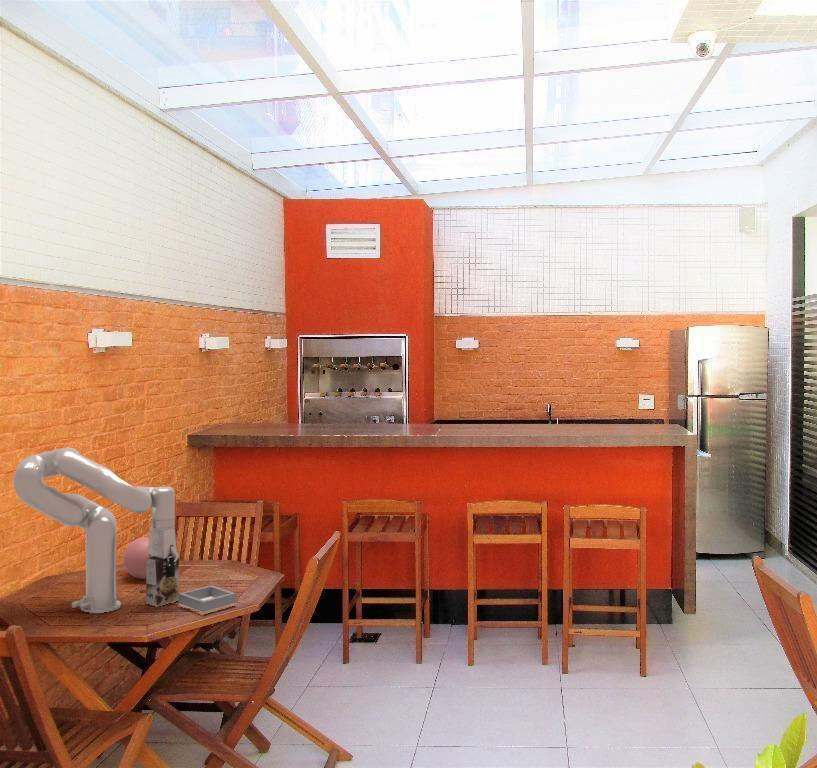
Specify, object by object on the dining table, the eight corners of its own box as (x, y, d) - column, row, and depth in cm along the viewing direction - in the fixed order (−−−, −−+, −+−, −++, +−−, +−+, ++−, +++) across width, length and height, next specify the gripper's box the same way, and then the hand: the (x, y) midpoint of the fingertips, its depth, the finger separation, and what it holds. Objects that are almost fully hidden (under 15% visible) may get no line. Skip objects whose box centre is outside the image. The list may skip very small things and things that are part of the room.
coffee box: (157, 608, 286) (157, 560, 286) (145, 604, 290) (145, 557, 289) (179, 601, 294) (179, 555, 293) (167, 598, 298) (168, 552, 297)
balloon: (153, 567, 335) (153, 528, 334) (172, 580, 319) (172, 539, 318) (113, 573, 326) (113, 533, 325) (131, 586, 310) (131, 544, 309)
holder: (203, 615, 280) (203, 602, 280) (178, 606, 288) (178, 593, 288) (235, 606, 290) (235, 593, 290) (211, 597, 299) (211, 585, 298)
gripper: (138, 521, 293) (138, 571, 294) (168, 529, 282) (168, 581, 283) (157, 517, 299) (157, 567, 300) (187, 525, 288) (187, 577, 289)
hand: (162, 574), depth 291 cm, fingers open, 7 cm apart
